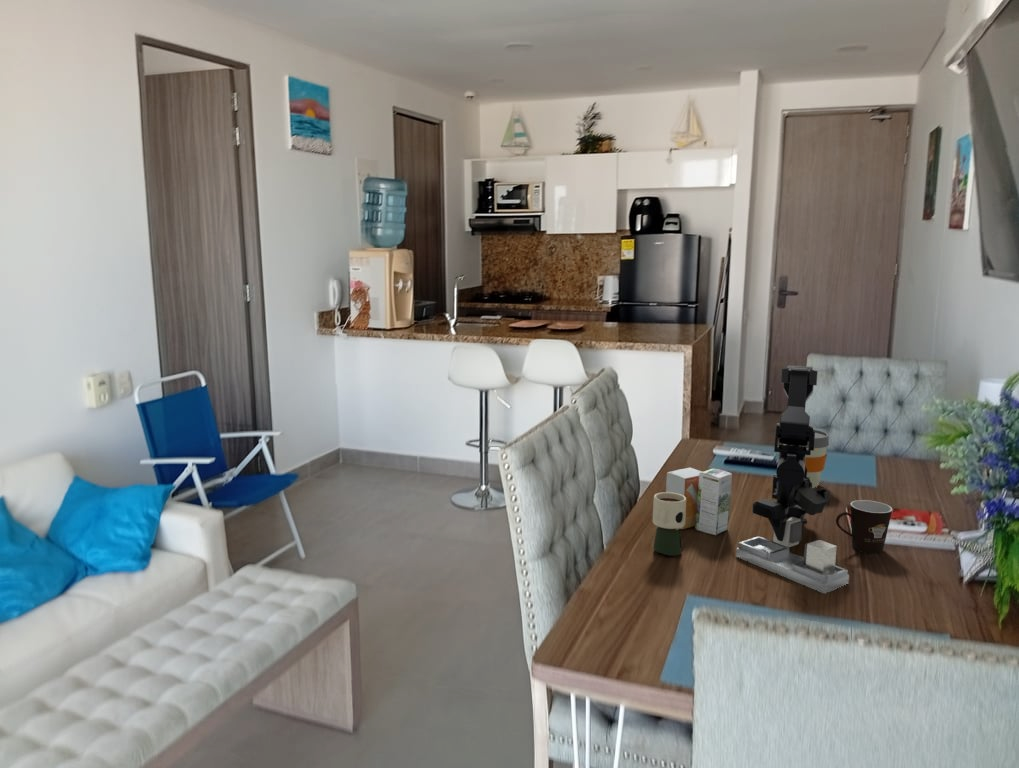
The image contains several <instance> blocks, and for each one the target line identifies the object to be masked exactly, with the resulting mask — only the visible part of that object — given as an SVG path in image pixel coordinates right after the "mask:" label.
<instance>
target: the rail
mask: <svg viewBox="0 0 1019 768" xmlns="http://www.w3.org/2000/svg"><path fill="white" fill-rule="evenodd" d="M837 547H838V546H837V545H835V544H832V543H829V542H826V541H824V540H822V539H817V540H813V541H809V542H807V543H804V552H803V554H804V555H803V556H801V555H798V554H795V553H793V552H791V551H790V547H786V546H783V545H781V544H778V543H776V542H773V540H770V539H768V538H764V537H762V536H755V537H751V538H749V539H746V540H743V541H740V542H738V547H736V552H735V557H736V558H738V557H739V559H740V558H741V559H740V560H743V561H745V562H747V561H748V563H749V564H751V565H755V566H756V567H760V568H762V569H765V570H766V569H767V571H769V572H771V573H774V574H776V573H777V574H776V575H778V574H779V576H780V577H781V576H782V577H783V576H784V577H783V578H785V577H786V579H789V580H791V581H793V582H795V583H796V584H797V583H798V584H800V585H802V586H804V585H805V587H806V588H809V589H812V590H814V591H816V590H817V592H819V593H822V594H824V595H826V594H828V593H830V592H833V591H835V590H838V589H840V588H842V587H841V586H843V587H845V586H847V585H846V584H848V585H849V583H850V574H849V573H848V572H849V571H848V569H847V568H843V567H841V566H838V565H836V559H837ZM844 585H845V586H844ZM839 587H840V588H839ZM837 588H838V589H837ZM827 592H828V593H827Z"/></svg>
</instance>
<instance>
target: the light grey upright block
mask: <svg viewBox="0 0 1019 768" xmlns="http://www.w3.org/2000/svg"><path fill="white" fill-rule="evenodd" d="M800 521H801V519H799V518H796V517H793V516H792V517H791V518H790V519H788V520H787V521H786V526H785V532H784V537H783V541H779V540H778V539H777V537H776V535H775V532H774V531H773V537H772V539H773V540H772V541H773V542H776V543H778V544H781V545H783V546H786V547H789V548H791V547H794V546H797V545H799V544H800V542H801V541H802V532H803V531H802V530H803V523H802V522H800Z"/></svg>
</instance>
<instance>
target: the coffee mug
mask: <svg viewBox="0 0 1019 768" xmlns="http://www.w3.org/2000/svg"><path fill="white" fill-rule="evenodd" d="M892 514H893V507H892V506H890V505H888V504H886V503H884V502H880V501H874V500H870V499H869V500H867V499H859V500H853V501H851V502H850V512H847V511H844V512H841V513H839V514H838V515H837V516H836V519H835V524H836V526H837V528H839V530H841V531H842V532H843V533H845V534H846V535H848V537H849V536H850V537H851V547H852V548H853V549H854V550H855V549H856V550H855V551H857V550H858V551H857V552H860V551H862V552H861V553H863V552H866V553H865V554H868V553H879V554H881V553H880V552H882V551H883V552H884V548H885V547H884V546H885V544H886V539H887V534H888V530H889V526H890V522H891V517H892ZM843 516H849V517H850V524H851V525H850V528H851V532H849V531H847V530H846V529H844V528H842V526H841V524H840V519H841V517H843ZM883 552H882V553H883Z"/></svg>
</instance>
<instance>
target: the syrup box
mask: <svg viewBox="0 0 1019 768" xmlns="http://www.w3.org/2000/svg"><path fill="white" fill-rule="evenodd" d="M732 481H733V474H732V473H731V472H728V471H726V470H722V469H719V468H710V469H707V470H705V471H702V473H699V485H698V499H697V514H696V526H695V527H694V528H695V530H696V531H699V532H702V533H705V534H706V533H707V534H710V535H713V536H717V535H719V534H722V533H724V532H725V531H728V530H729V523H730V522H729V521H730V509H731V498H732V497H731V496H732V483H733V482H732Z"/></svg>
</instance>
